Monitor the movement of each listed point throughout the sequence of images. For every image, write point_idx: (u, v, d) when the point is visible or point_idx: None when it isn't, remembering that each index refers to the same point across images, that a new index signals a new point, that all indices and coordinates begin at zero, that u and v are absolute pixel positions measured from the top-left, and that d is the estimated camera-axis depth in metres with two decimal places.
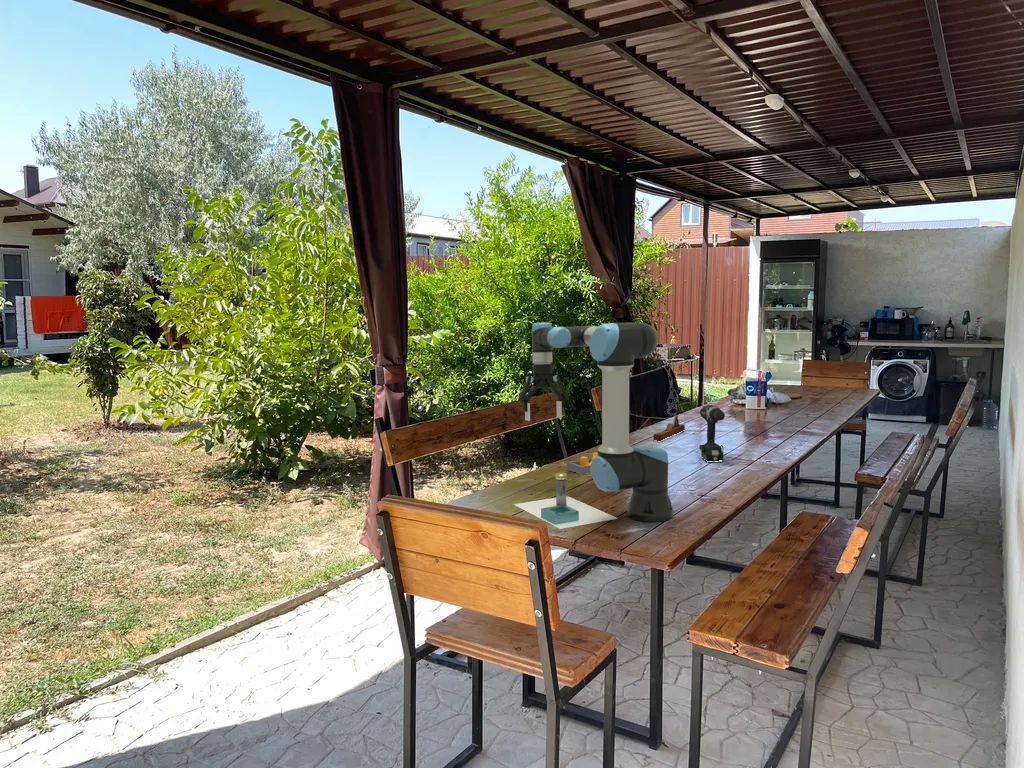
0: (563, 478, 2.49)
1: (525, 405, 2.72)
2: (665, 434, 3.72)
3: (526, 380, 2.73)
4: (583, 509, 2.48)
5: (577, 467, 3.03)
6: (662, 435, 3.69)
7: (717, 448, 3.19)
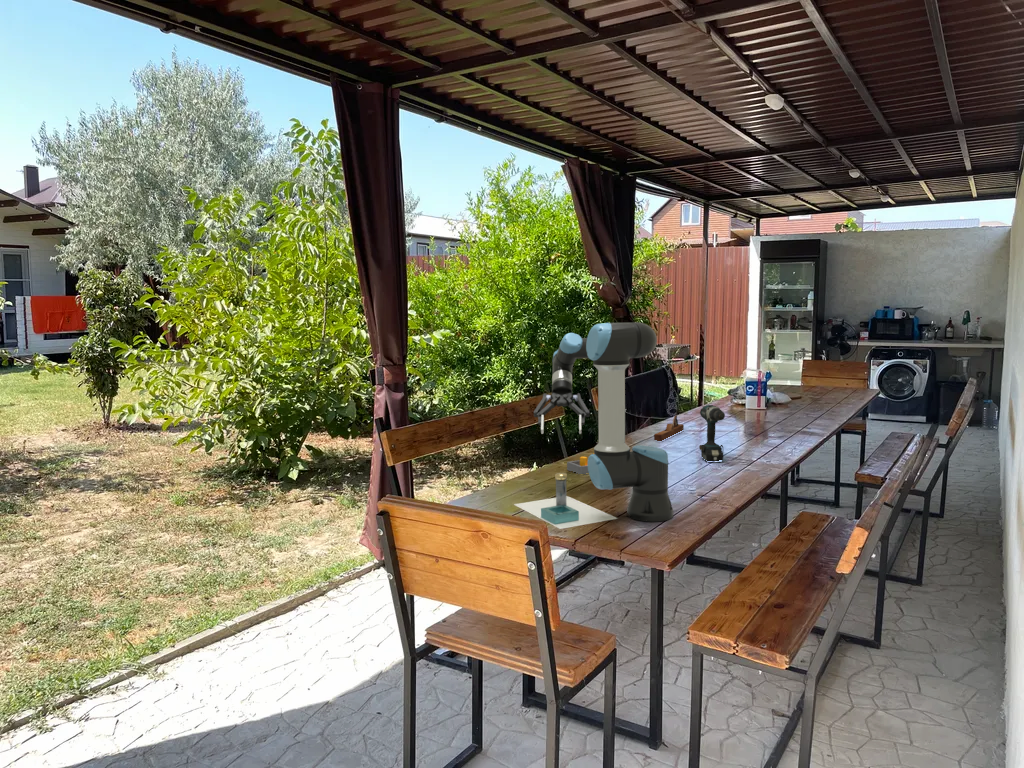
0: (563, 478, 2.49)
1: (539, 417, 2.64)
2: (665, 434, 3.72)
3: None
4: (583, 509, 2.48)
5: (577, 467, 3.03)
6: (663, 435, 3.69)
7: (717, 448, 3.19)
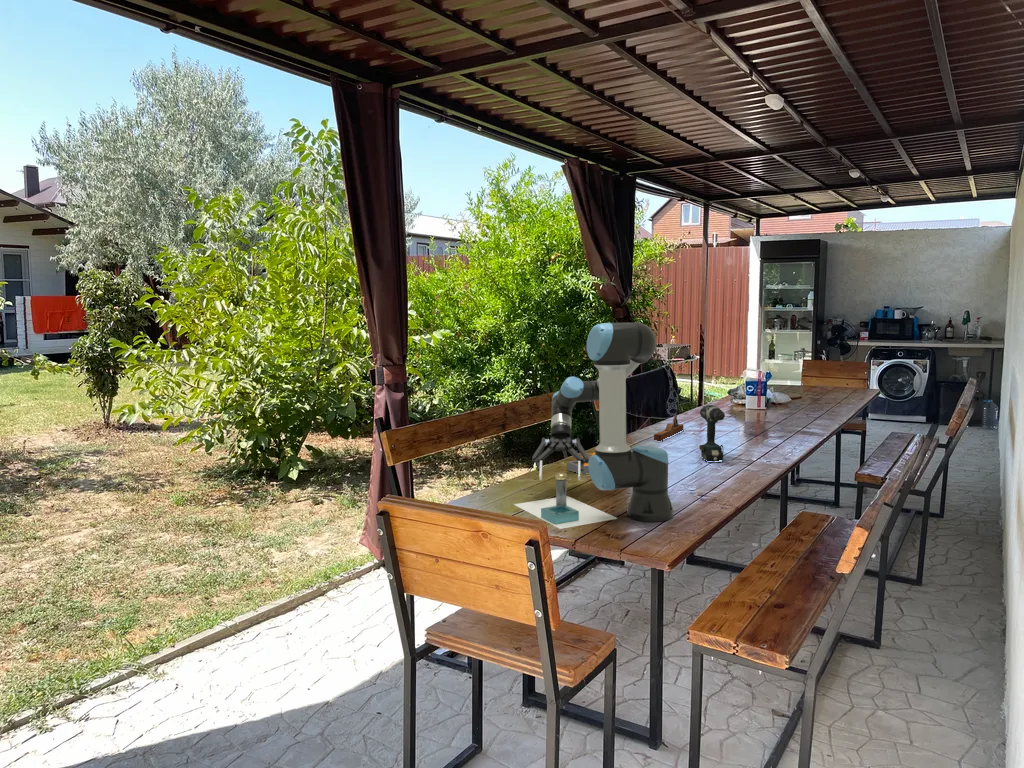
0: (563, 478, 2.49)
1: (538, 463, 2.59)
2: (665, 434, 3.72)
3: None
4: (583, 509, 2.48)
5: (577, 467, 3.03)
6: (662, 435, 3.69)
7: (717, 448, 3.19)
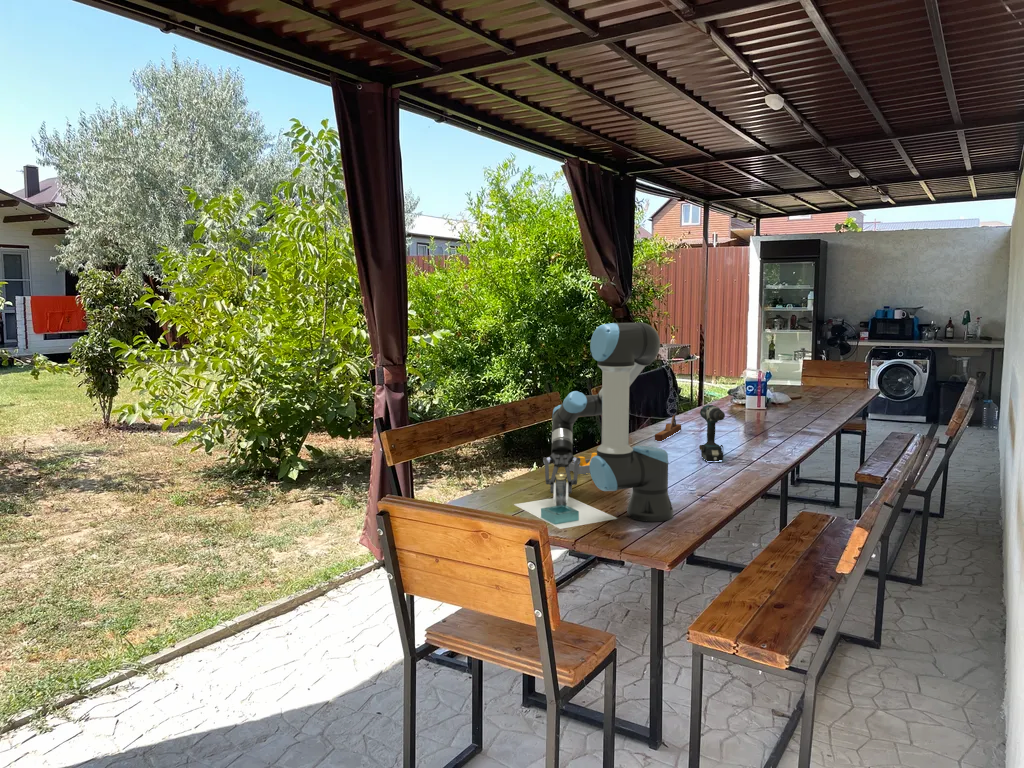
0: (563, 478, 2.49)
1: (551, 485, 2.51)
2: (665, 434, 3.72)
3: (544, 462, 2.58)
4: (583, 509, 2.48)
5: None
6: (663, 435, 3.69)
7: (717, 448, 3.19)
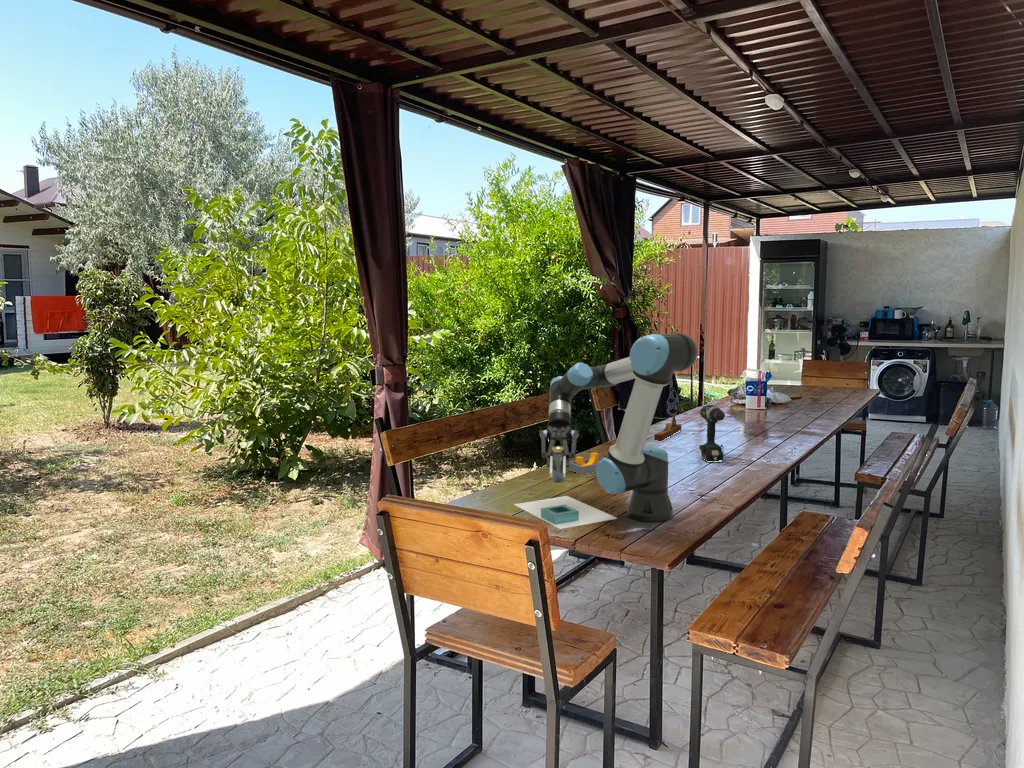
0: (560, 451, 2.35)
1: (548, 458, 2.38)
2: (665, 434, 3.72)
3: (540, 436, 2.45)
4: (583, 509, 2.48)
5: (577, 467, 3.03)
6: (663, 435, 3.69)
7: (717, 448, 3.19)
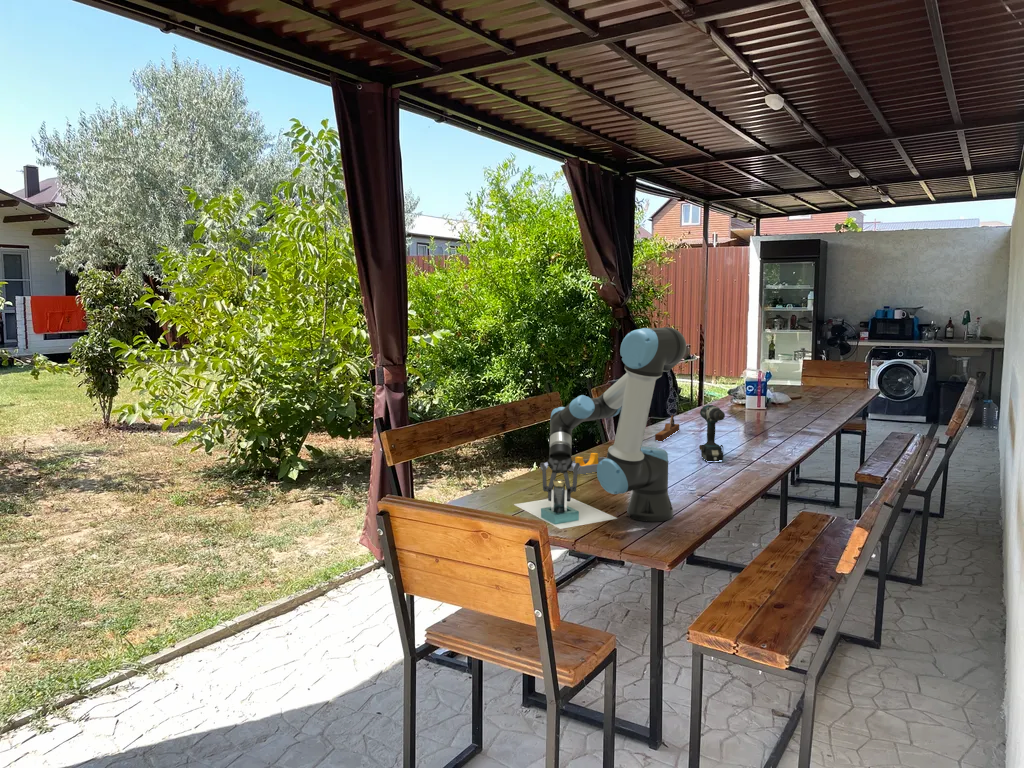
0: (561, 485, 2.35)
1: (549, 492, 2.37)
2: (665, 434, 3.72)
3: (541, 468, 2.44)
4: (583, 509, 2.48)
5: None
6: (663, 435, 3.69)
7: (717, 448, 3.19)
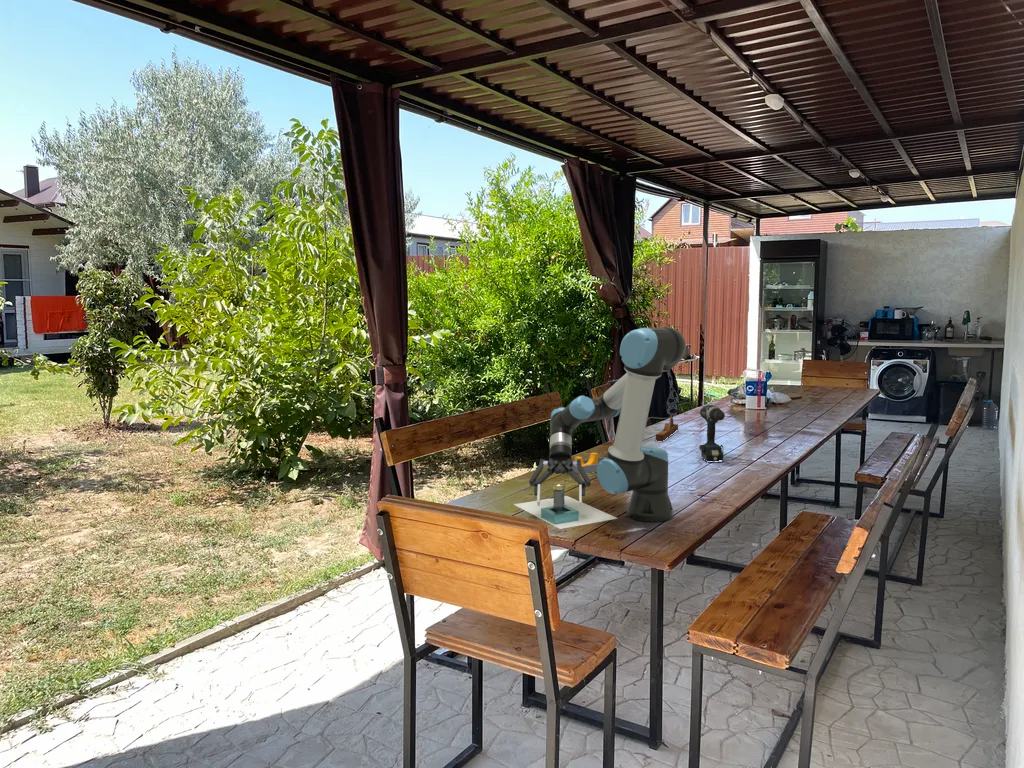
0: (561, 488, 2.35)
1: (535, 486, 2.39)
2: (666, 434, 3.72)
3: None
4: (583, 509, 2.48)
5: None
6: (664, 435, 3.69)
7: (717, 448, 3.19)
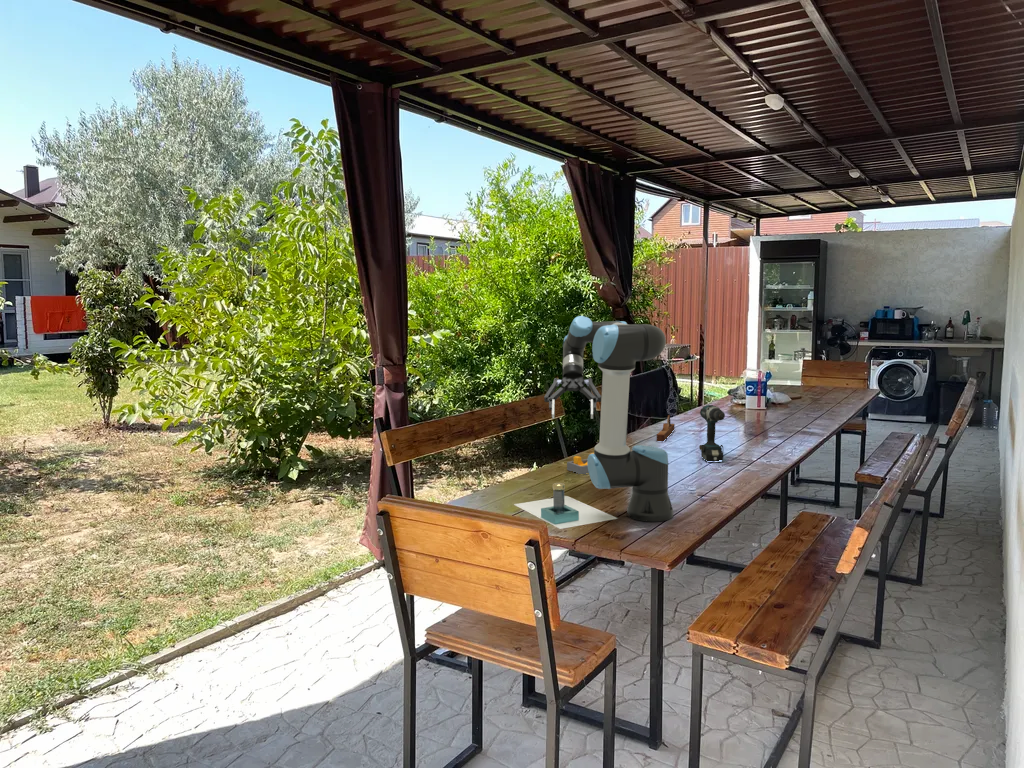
0: (561, 488, 2.35)
1: (550, 402, 2.58)
2: (666, 434, 3.72)
3: None
4: (583, 509, 2.48)
5: (577, 467, 3.03)
6: (664, 435, 3.69)
7: (717, 448, 3.19)
